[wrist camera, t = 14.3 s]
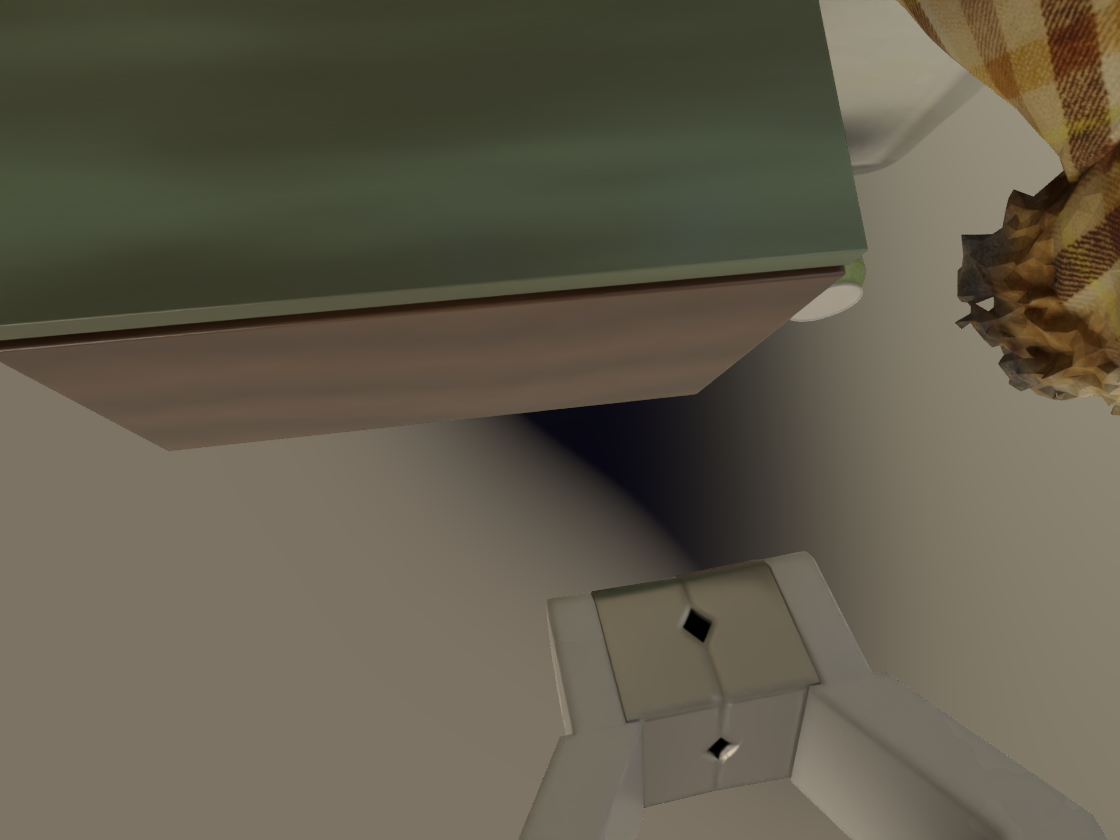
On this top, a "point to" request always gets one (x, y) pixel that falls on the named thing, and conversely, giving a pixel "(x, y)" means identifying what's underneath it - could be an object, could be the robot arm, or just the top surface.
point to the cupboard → (416, 358)
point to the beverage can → (836, 294)
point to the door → (404, 153)
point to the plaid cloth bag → (1048, 190)
